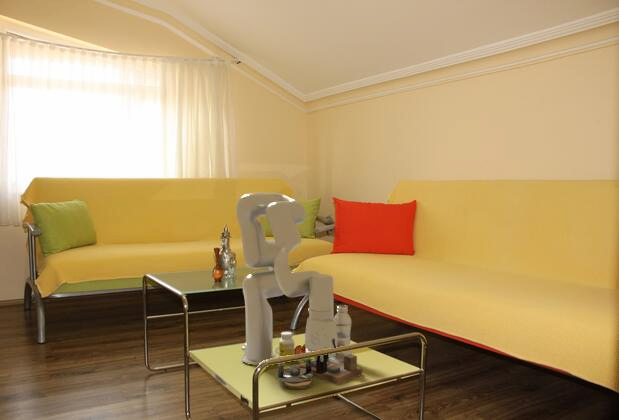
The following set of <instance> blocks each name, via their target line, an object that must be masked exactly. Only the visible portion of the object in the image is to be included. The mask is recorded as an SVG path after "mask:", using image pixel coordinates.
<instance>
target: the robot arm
mask: <svg viewBox="0 0 619 420" xmlns="http://www.w3.org/2000/svg"><path fill="white" fill-rule="evenodd" d="M235 210H236V212H235V213H236V218H237V222H238V225H239V228H240V232H241V244H242V251H243V252H242V254H243V260H244V264H245V266H246V267H247V268H249V269H255V270H256V269H264V268H268V269H269V270H264V271H258V272H257V271H256V272H253V273H249V274H248V275H246V276H245V277H244V278H243V281H242V294H243V297H244V304H245V305H244V307H245V344H244V346H241V351H243V352H244V355H242V357H241V362H242V361H243V362H245V363H248V364H247V365H249V364H257V365H256V366H259V365H258V364H259V363H260V362H262V361H263V360H266V359H270V358H274V357H277V358H278V355H277V354H276V353H273V352H274V350H273V349H274V348H273V345H274V342H273V340H274V339H273V310H272V306H271V305H270V303H269V302H268V299H270V298H274V297H281V296H283V295H285V296H286V297H288V298H296V297H303V296H309V298H308V303H309V304H308V307H309V308H308V310H307V311H308V313H309V316H308V317H307V319H306V325H305V334H304V346H305V348H306V349H307V350H308V351H309V352H311V353H312V351H317V350H323V349H329V348H336V347H337V333H336V325H335V320H334V277H332V275H330V274H327V273H320V272H318V271H316V270H307V271H306V270H305V271H297V272H292V270H291V268H290V264H289V254H290V253H291V252H293V251H294V250H296V249H297V248H298V247H299V246H300V245H301V244H302V242H303V239H302V236H301V233H300V231H299V229H298V227H297V226H298V225H302V224H303V223H304V222H305V220H306V218H307V217H306V216H307V214H306V213H307V212H306V210H305V207H304V206H303V204H302V203H301V202H300V201H298V200H296V199H294V198H292V197H289V196H287V195H286V194H283V193H279V192H251V193H246V194H243V195H242V196H241V197H240V198H239V199H238V201H237V204H236V208H235ZM260 217H262V218H263V217H265V218H266V220H267V223H268V226H269V229H270V230H271V231H270V232H271V234H272V236H273V239H274V240H267V238H266V230H265V227H264V225H263V224H262V222H261V221H260V219H259V218H260ZM335 356H336V355H335V353H333V354H327V355H321V356H316V357H314V356H313V357H314V359H315V360H316V373H319V374H323V373H326V372H327V360H328V359H332V358H334V357H335ZM245 363H244V364H245Z"/></svg>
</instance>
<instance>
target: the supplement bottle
mask: <svg viewBox="0 0 619 420" xmlns="http://www.w3.org/2000/svg"><path fill="white" fill-rule="evenodd" d="M280 336H281V338H280V340H279V345H278V346H279V357H280V356H286V355H293V354H294V353H295V340H294V338H293V332H291V331H282V332H280Z"/></svg>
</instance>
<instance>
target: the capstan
mask: <svg viewBox="0 0 619 420" xmlns="http://www.w3.org/2000/svg"><path fill="white" fill-rule="evenodd" d="M311 360H312V359H310V358H308V359H307V358H306V359H305V362H306V369H304V368H300V366H299V364H291V365H290V366H289V367H288V368H285V367H284V366H285V365H284V364H282V363H281V364H277V372H276V379H277V380H278V381H279V382H282V383H283V385H284V387H286V388H287V389H291V390H305V389H308V388H310V387H312V386H313V383H314V379H313V378H314V376H313V372H312V364H311Z"/></svg>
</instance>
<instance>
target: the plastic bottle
mask: <svg viewBox="0 0 619 420" xmlns="http://www.w3.org/2000/svg"><path fill="white" fill-rule="evenodd" d="M336 312H337V313H336V314H334V315H335V316H333V319H334V320H335V325H336V333H337V347H340V346H345V345H349V344H351V329H352V318H351V316H350V315H349V313H348V312H349V309H348V305H345V304H339V305H336ZM348 354H352V355H353V352H352V349H351V350H350V351H345V352H340V353H336V354H335V355H336V356H335V357H333V360H335V361H338V362H342V363H344V356H345V355H348Z"/></svg>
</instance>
